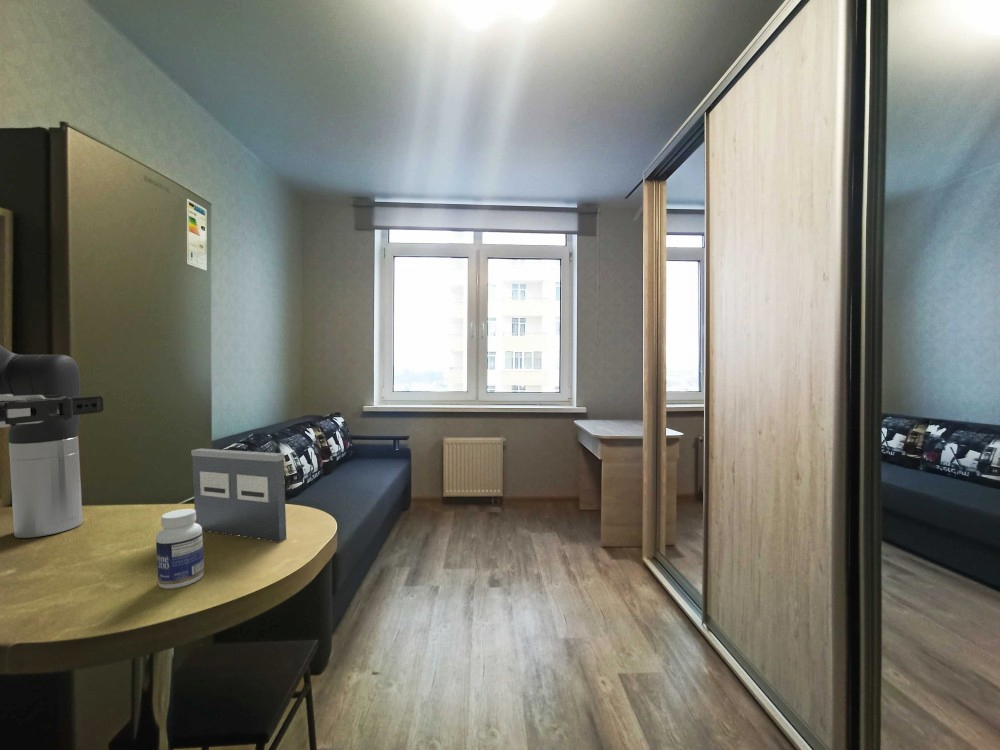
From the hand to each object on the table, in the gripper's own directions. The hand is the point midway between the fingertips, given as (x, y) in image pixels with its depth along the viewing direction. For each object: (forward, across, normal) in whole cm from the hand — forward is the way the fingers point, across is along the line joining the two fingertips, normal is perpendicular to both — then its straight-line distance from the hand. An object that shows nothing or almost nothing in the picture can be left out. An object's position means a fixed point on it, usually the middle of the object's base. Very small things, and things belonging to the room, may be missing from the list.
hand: (81, 403), depth 62 cm
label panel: (+20, -4, +26) cm, 33 cm away
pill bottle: (+5, -11, +26) cm, 29 cm away
